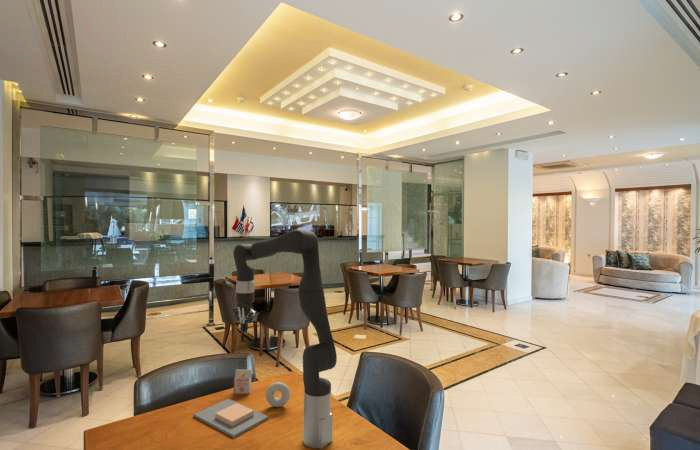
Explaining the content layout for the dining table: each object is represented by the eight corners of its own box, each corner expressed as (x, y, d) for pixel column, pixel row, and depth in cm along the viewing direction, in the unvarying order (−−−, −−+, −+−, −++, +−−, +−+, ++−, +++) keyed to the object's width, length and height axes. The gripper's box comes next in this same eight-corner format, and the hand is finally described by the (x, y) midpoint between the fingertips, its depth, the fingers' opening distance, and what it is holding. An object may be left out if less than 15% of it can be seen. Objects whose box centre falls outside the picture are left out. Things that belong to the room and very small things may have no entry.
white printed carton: (235, 390, 164) (236, 368, 164) (251, 390, 164) (251, 368, 164) (233, 394, 160) (234, 371, 160) (249, 394, 161) (249, 371, 161)
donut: (290, 404, 152) (291, 380, 152) (289, 409, 148) (289, 384, 148) (266, 404, 152) (267, 380, 152) (264, 408, 148) (265, 384, 148)
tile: (236, 407, 146) (253, 415, 140) (215, 418, 138) (232, 427, 132) (236, 402, 146) (253, 410, 140) (215, 413, 138) (232, 421, 132)
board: (268, 418, 140) (268, 416, 140) (233, 438, 127) (233, 435, 127) (228, 401, 154) (228, 398, 154) (193, 416, 141) (193, 414, 141)
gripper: (262, 291, 155) (261, 332, 154) (242, 288, 162) (241, 327, 162) (248, 294, 148) (247, 336, 148) (227, 290, 156) (226, 330, 156)
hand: (244, 331), depth 155 cm, fingers closed
